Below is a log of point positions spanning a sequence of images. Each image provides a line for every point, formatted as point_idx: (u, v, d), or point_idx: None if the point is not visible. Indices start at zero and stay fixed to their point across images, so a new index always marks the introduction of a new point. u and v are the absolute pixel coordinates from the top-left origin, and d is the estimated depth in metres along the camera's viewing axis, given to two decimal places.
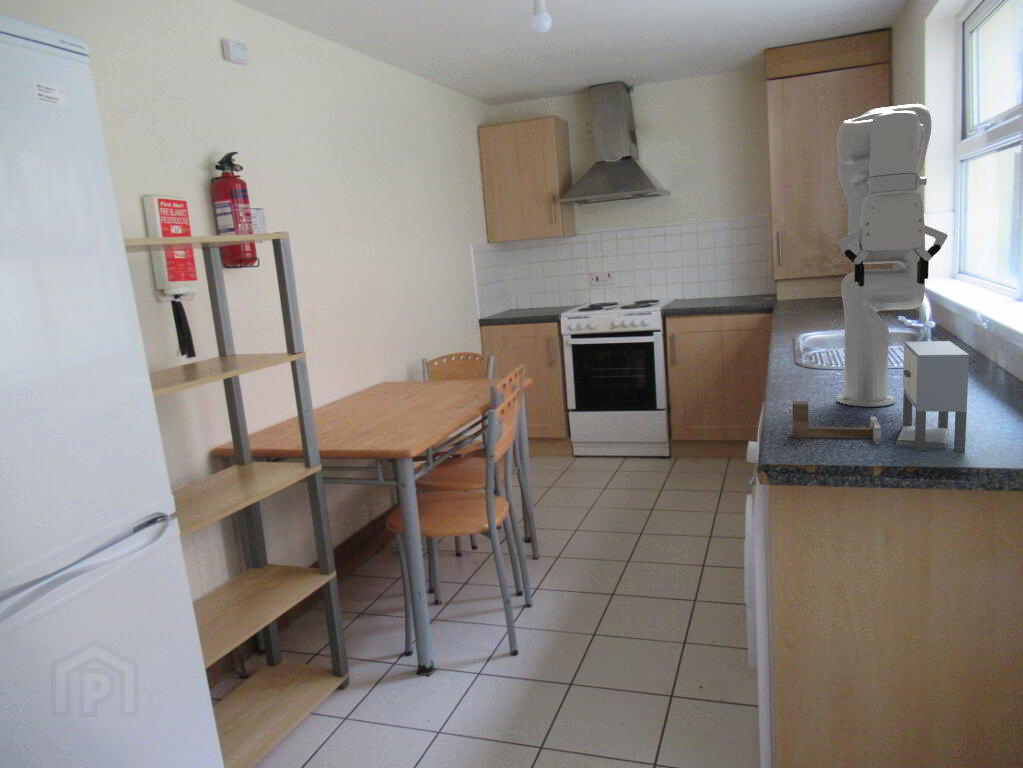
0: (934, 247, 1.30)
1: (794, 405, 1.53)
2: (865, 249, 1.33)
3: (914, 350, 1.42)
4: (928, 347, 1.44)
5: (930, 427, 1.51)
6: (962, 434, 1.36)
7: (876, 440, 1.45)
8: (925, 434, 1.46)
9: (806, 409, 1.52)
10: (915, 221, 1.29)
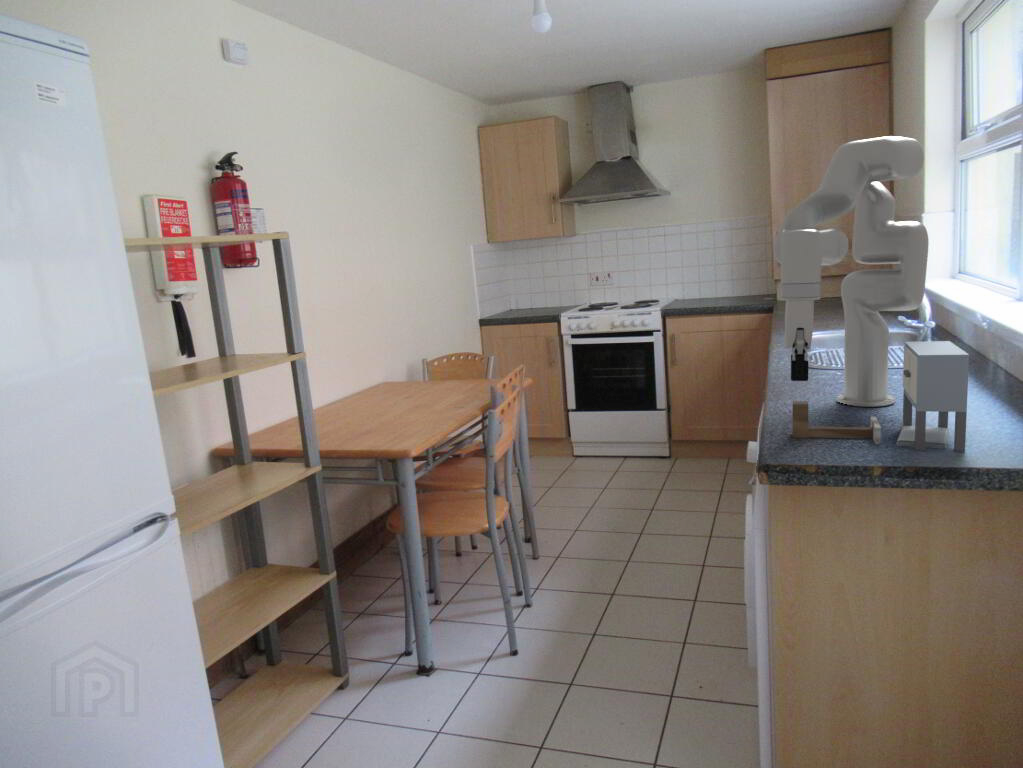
0: None
1: (794, 405, 1.53)
2: (810, 347, 1.46)
3: (914, 350, 1.42)
4: (928, 347, 1.44)
5: (930, 427, 1.51)
6: (962, 434, 1.36)
7: (876, 440, 1.45)
8: (925, 434, 1.46)
9: (806, 409, 1.52)
10: None
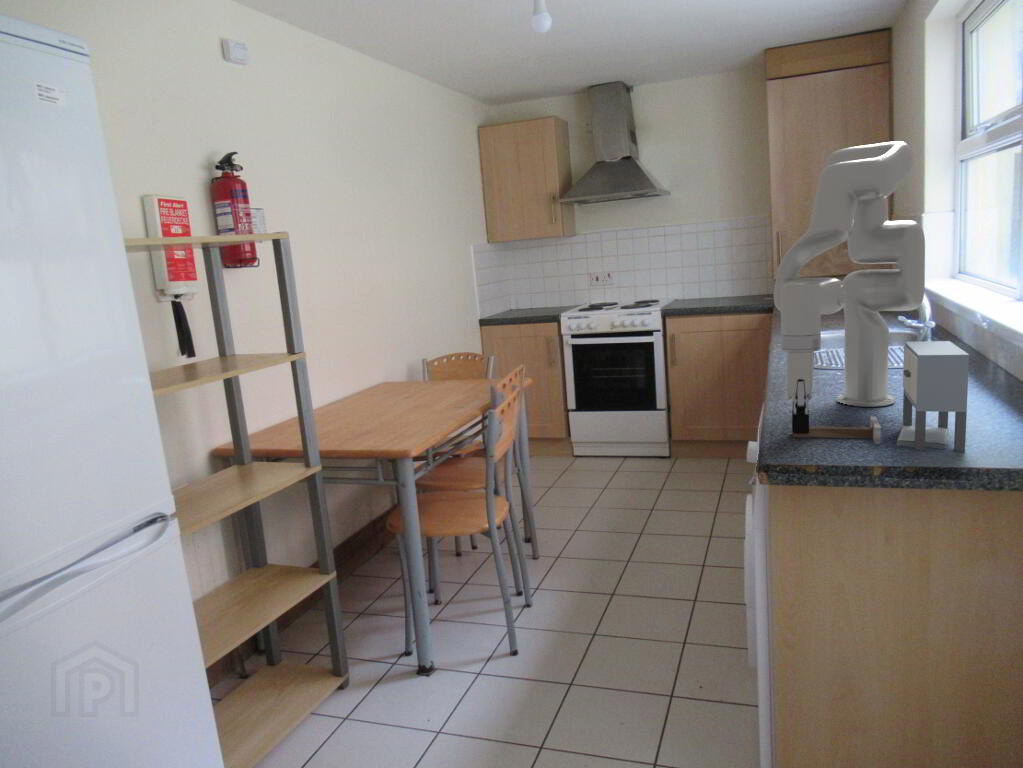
0: (804, 397, 1.57)
1: None
2: (810, 398, 1.49)
3: (914, 350, 1.42)
4: (928, 347, 1.44)
5: (929, 427, 1.51)
6: (962, 434, 1.36)
7: (876, 440, 1.45)
8: (925, 434, 1.46)
9: None
10: None
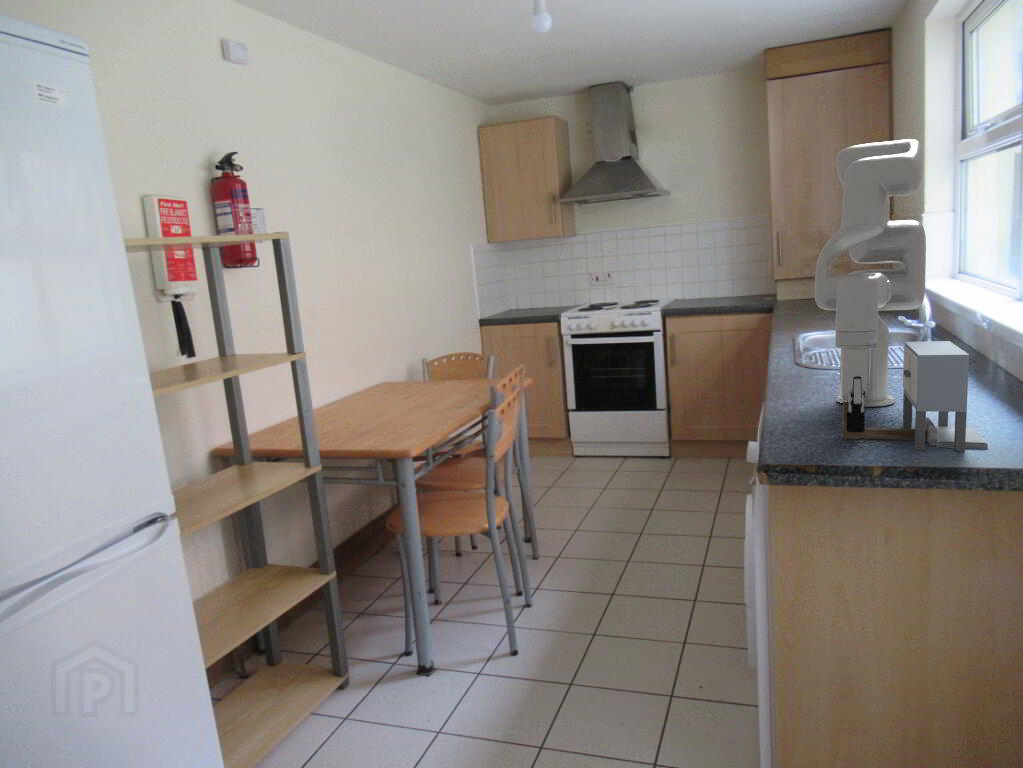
0: None
1: (845, 405, 1.49)
2: (867, 395, 1.45)
3: (914, 350, 1.42)
4: (928, 347, 1.44)
5: None
6: (962, 434, 1.36)
7: (932, 442, 1.42)
8: None
9: None
10: None
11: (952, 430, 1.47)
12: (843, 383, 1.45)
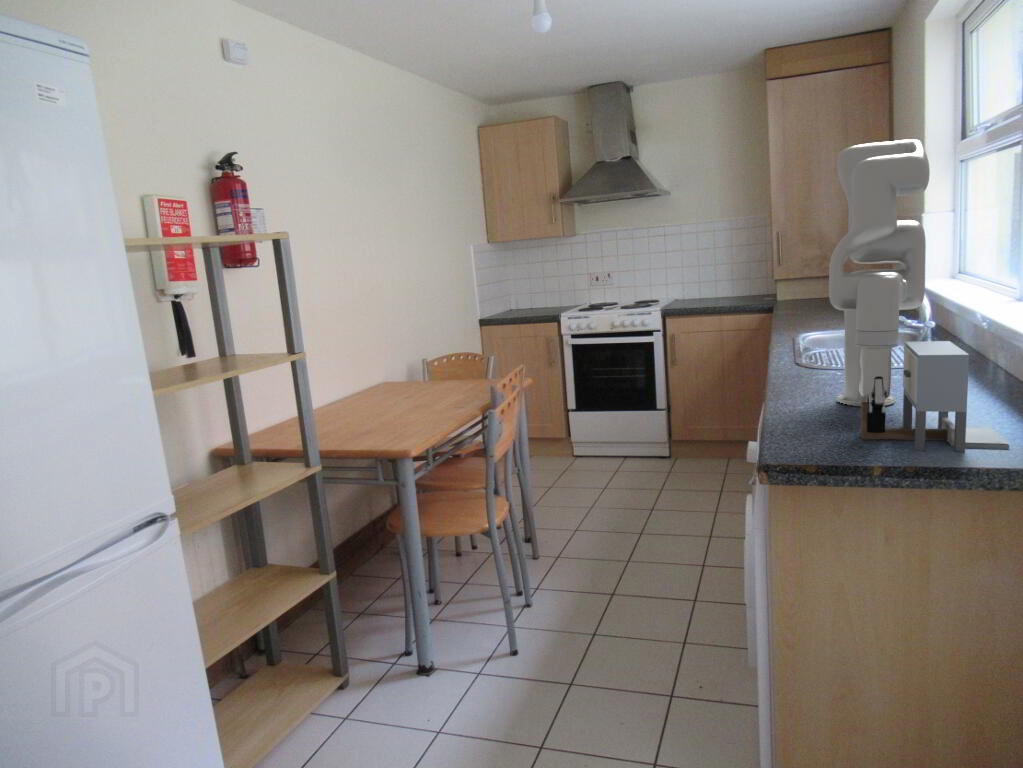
0: None
1: (864, 406, 1.48)
2: (888, 396, 1.43)
3: (914, 350, 1.42)
4: (928, 347, 1.44)
5: (975, 427, 1.49)
6: (962, 434, 1.36)
7: (952, 442, 1.40)
8: (979, 435, 1.43)
9: None
10: None
11: (971, 431, 1.46)
12: (864, 383, 1.44)
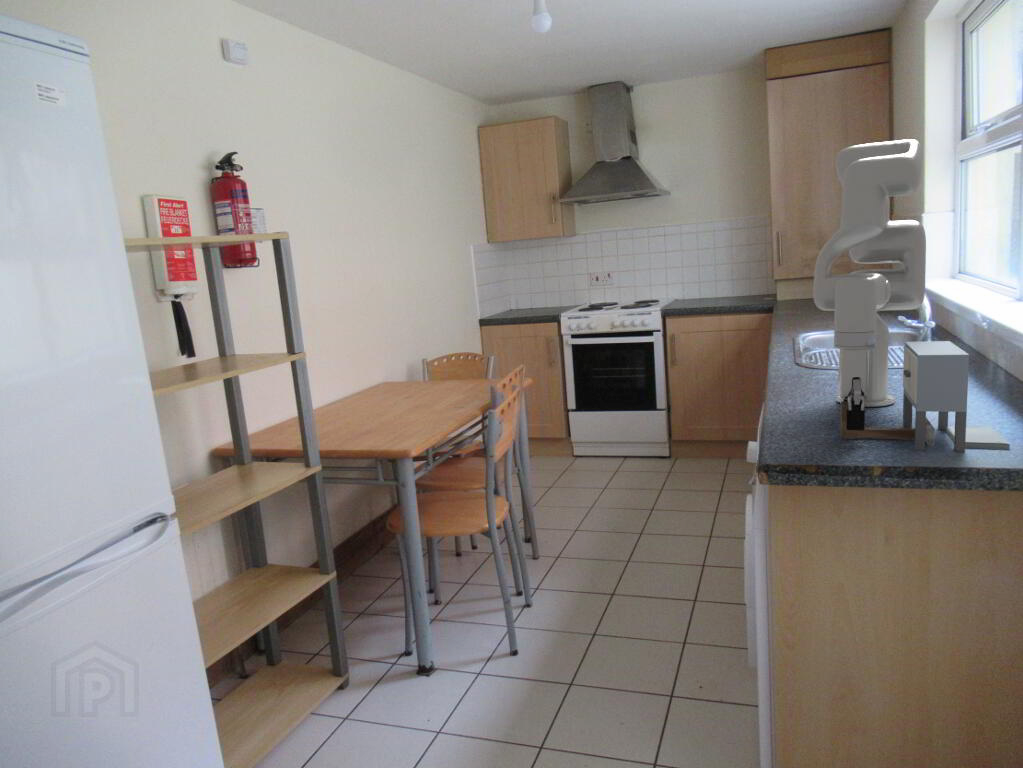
0: None
1: (843, 405, 1.49)
2: (866, 396, 1.45)
3: (914, 350, 1.42)
4: (928, 347, 1.44)
5: (975, 427, 1.49)
6: (962, 434, 1.36)
7: (930, 441, 1.42)
8: (980, 435, 1.43)
9: None
10: None
11: (972, 431, 1.46)
12: (842, 384, 1.46)
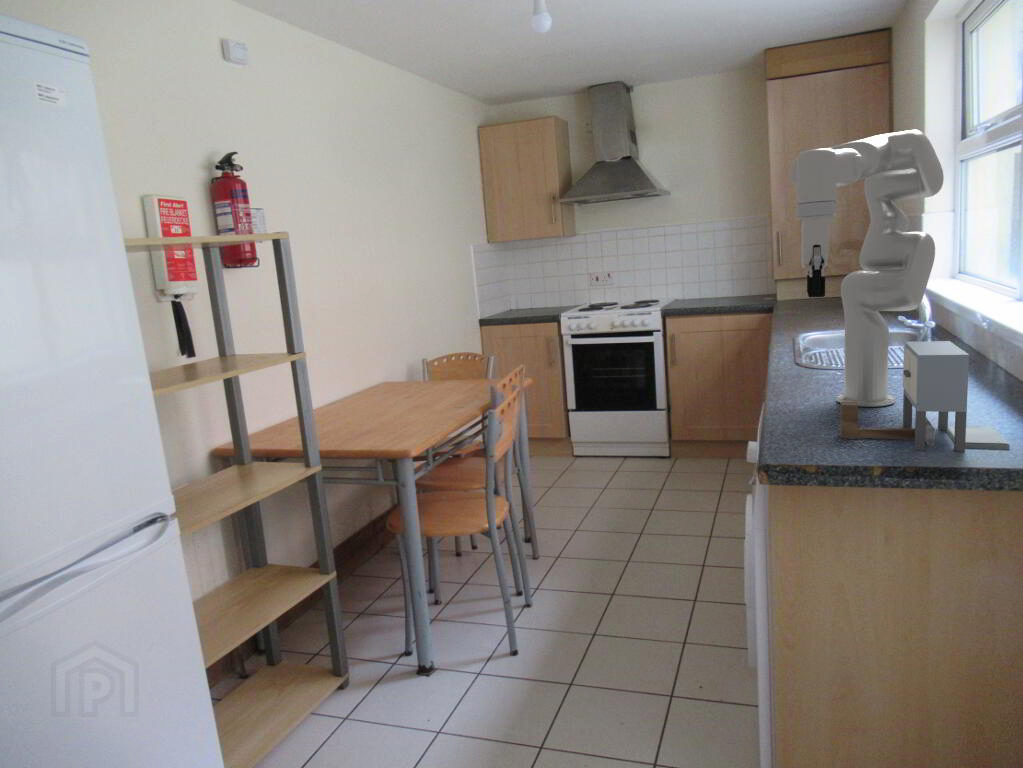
0: None
1: (843, 405, 1.49)
2: (826, 263, 1.51)
3: (914, 350, 1.42)
4: (928, 347, 1.44)
5: (975, 427, 1.49)
6: (962, 434, 1.36)
7: (930, 441, 1.42)
8: (979, 435, 1.43)
9: (856, 410, 1.49)
10: None
11: (972, 431, 1.46)
12: (803, 252, 1.52)
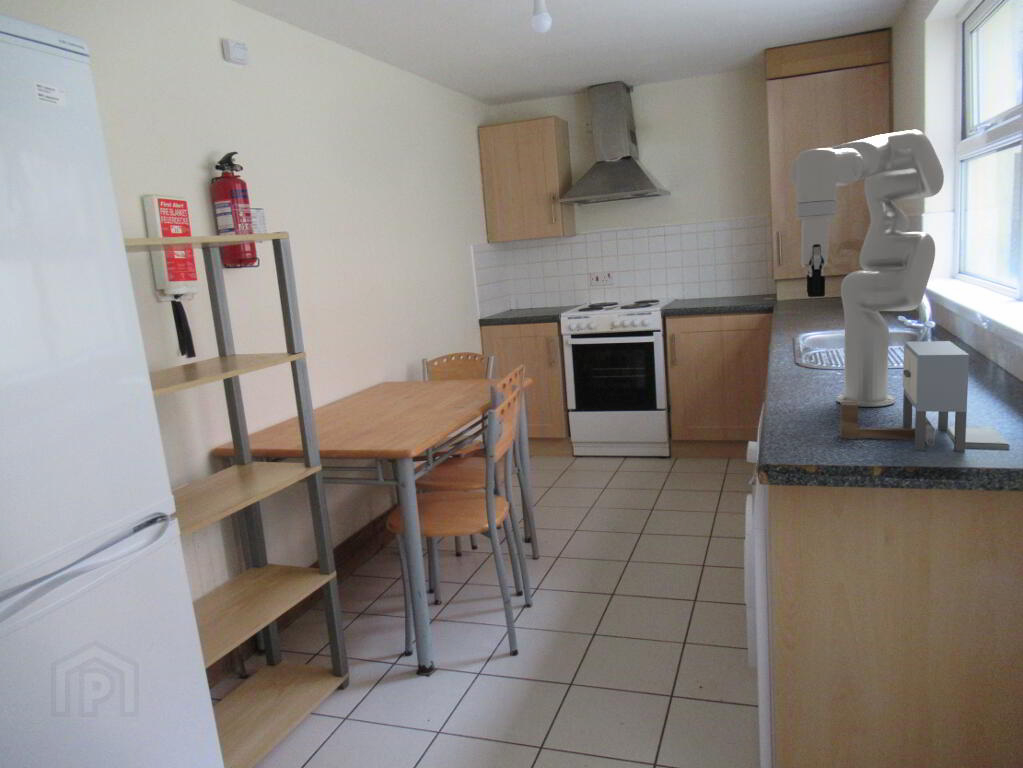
0: None
1: (843, 405, 1.49)
2: (826, 263, 1.51)
3: (914, 350, 1.42)
4: (928, 347, 1.44)
5: (976, 427, 1.49)
6: (962, 434, 1.36)
7: (930, 441, 1.42)
8: (980, 435, 1.43)
9: (856, 410, 1.49)
10: None
11: (972, 431, 1.46)
12: (803, 252, 1.52)
